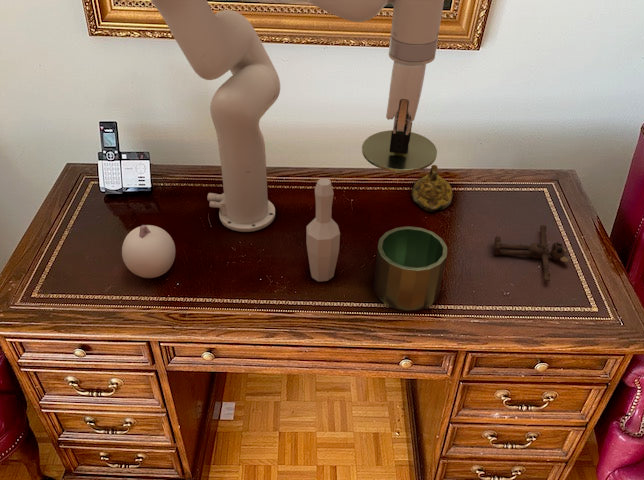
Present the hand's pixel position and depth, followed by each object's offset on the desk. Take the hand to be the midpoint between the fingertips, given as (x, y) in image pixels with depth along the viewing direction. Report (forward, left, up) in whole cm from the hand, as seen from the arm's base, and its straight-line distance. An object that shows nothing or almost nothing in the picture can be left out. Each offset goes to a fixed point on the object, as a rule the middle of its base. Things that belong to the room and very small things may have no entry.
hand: (399, 146), depth 115 cm
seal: (+8, +22, -25) cm, 34 cm away
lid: (0, 0, -1) cm, 1 cm away
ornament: (-46, -16, -25) cm, 55 cm away
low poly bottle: (-12, -10, -25) cm, 29 cm away
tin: (+5, -11, -25) cm, 28 cm away
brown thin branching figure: (+29, +4, -25) cm, 38 cm away
